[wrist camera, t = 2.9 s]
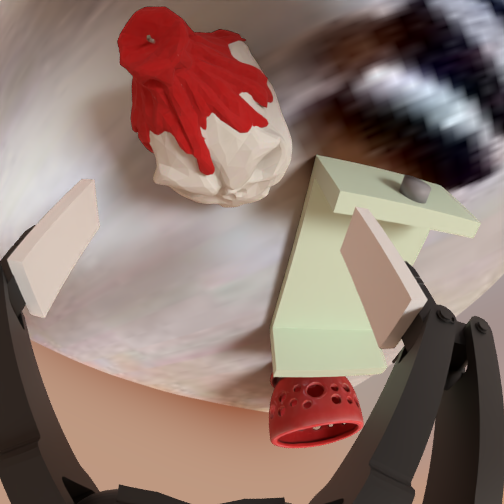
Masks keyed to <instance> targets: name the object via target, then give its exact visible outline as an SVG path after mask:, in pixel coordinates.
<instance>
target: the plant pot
mask: <svg viewBox="0 0 504 504" xmlns="http://www.w3.org/2000/svg"><path fill="white" fill-rule="evenodd" d="M270 382H271V385H272V386H273V388H275V389H274V391H273V394H272V397H271V402H270V409H269V431H270V440H271V442H272V444H274V445H276V446H279V447H284V448H306V447H314V446H320V445H324V444H329V443H333V442H336V441H339V440H342V439H344V438H347V437H349V436H351V435H353V434H355V433H357V432H358V431H359V430H361V429H362V427H363V425H364V423H363V417H362V412H361V408H360V405H359V402H358V399H357V396H356V393H355V391H354V389H353V387H352V385H351V383H350V382H349V381H348V379H347V378H346V377H345V376H338V377H273V373H272V374H271V378H270ZM343 423H346V424H343ZM329 424H333V426H332V427H329ZM316 426H321V427H320V429H318V430H315V429H313V427H316Z"/></svg>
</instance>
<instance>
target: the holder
mask: <svg viewBox="0 0 504 504" xmlns="http://www.w3.org/2000/svg"><path fill="white" fill-rule="evenodd" d="M355 207H360V208H366V209H369V210H370V212H371V213H372V215H373V216H374V217H375V219H376V220H377V222H378V223H379V224H380V226H381V227H382V229H383V230H384V232H385V233H386V235H387V236H388V238H389V239H390V240H391V242H392V243H393V245H394V246H395V248H396V249H397V251H398V253H399V254H400V256H401V257H402V259H403V260H404V261H407V262H408V263H409V264H410V265H411V266H412V265H413V263H414V262H415V260H416V258H417V256H418V254H419V252H420V250H421V248H422V246H423V244H424V242H425V240H426V237H427V235H428V233H429V231H430V229H431V230H436V231H441V232H446V233H450V234H455V235H460V236H464V237H469V238H474V236H475V234H476V232H477V230H478V228H479V226H480V224H481V223H480V222H479V221H478V220H477V219H476V218H475V217H474V216H473V215H472V214H471V213H470V212H469V211H468V210H467V209H466V208H465V207H464V206H463V205H462V204H461V203H460V202H458V201H457V200H456V199H455V198H454V197H453V196H452V195H451V194H450V193H449V192H447V191H446V190H445V189H444V188H443V187H442V186H440V185H437V184H433V183H430V182H427V181H423V180H420V179H418V178H415V177H412V176H409V175H402V174H398V173H395V172H391V171H387V170H383V169H379V168H375V167H371V166H366V165H362V164H358V163H353V162H349V161H344V160H339V159H334V158H329V157H324V156H319V155H316V158H315V162H314V166H313V170H312V174H311V178H310V182H309V186H308V190H307V194H306V198H305V202H304V206H303V210H302V214H301V217H300V221H299V225H298V229H297V233H296V236H295V240H294V244H293V247H292V251H291V255H290V258H289V262H288V266H287V269H286V273H285V276H284V280H283V283H282V287H281V290H280V294H279V297H278V301H277V304H276V308H275V311H274V314H273V318H272V321H271V325H270V340H271V353H272V365H273V377H338V376H358V375H373V374H382V373H383V372H384V370H385V369H386V368H387V364H386V361H385V358H384V355H383V352H382V349H379V347H378V344H377V341H376V338H375V336H374V333H373V330H372V328H371V325H370V322H369V320H368V317H367V315H366V312H365V309H364V307H363V304H362V302H361V299H360V297H359V294H358V292H357V289H356V287H355V285H354V282H353V280H352V277H351V275H350V273H349V270H348V268H347V266H346V263H345V261H344V259H343V256H342V254H341V252H340V249H341V247H342V244H343V241H344V238H345V235H346V233H347V230H348V227H349V224H350V221H351V218H352V215H353V212H354V209H355Z"/></svg>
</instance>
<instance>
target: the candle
mask: <svg viewBox="0 0 504 504" xmlns="http://www.w3.org/2000/svg"><path fill="white" fill-rule="evenodd" d="M243 41H246V39H243V38H241V36H240V35H239V34H237V33H234V32H231V31H228V30H222V29H219V30H216V31H214V32H212V33H202V32H193V31H192V30H191V28H190V27H189V26H188V25H187V24H186V22H185V21H184V20H183V19H182V18H181V17H179V16H178V15H177V14H175V13H174V12H172V11H171V10H170V9H168V8H167V7H144V8H142V9H140V10H138V11H137V12H135V13H134V14H133V15H132V17H131V18H130V19H129V21H128V22H127V23H126V25H125V27H124V28H123V30H122V31H121V33H120V36H119V38H118V42H117V43H118V47H119V52H120V65H121V66H123V67H124V68H126V69H127V70H128V72H129V73H130V74H131V75H132V76H133V79H132V110H131V124H132V129H133V131H134V132H138V137H139V139H140V141H141V142H142V144H143V145H144V146H145V147H146V148H147V149H148V150H149V151H150V152H152V153H154V155H155V157H156V166H157V167H156V170H155V173H154V176H153V180H154V182H155V183H156V184H160V185H167V186H169V187H170V188H172V189H173V190H174V191H175V192H177V193H179V194H180V195H182V196H184V197H186V198H188V199H190V200H193V201H195V202H197V203H203V204H214V203H216V204H219V205H221V206H222V207H238V206H240V205H242V204H247V203H253V202H256V201H258V200H260V199H262V198H264V197H266V196H267V194H268V193H269V189H270V187H271V186H273V185H275V184H277V183H278V182H279V181H280V180H281V179H282V177H283V176H284V174H285V172H286V170H287V168H288V166H289V164H290V162H291V155H292V140H291V137H290V133H289V130H288V127H287V124H286V122H285V120H284V117H283V115H282V112H281V109H280V106H279V103H278V100H277V96H276V94H275V91H274V89H273V86H272V84H271V83H270V82H269V81H268V78H267V77H266V76H265V75H264V73H263V71H262V70H261V68H260V67H259V65H258V64H257V62H256V60H255V59H254V57H253V56H252V54H251V53H250V50H249V48H248V46H247V45H246V44H245V43H244V42H243Z"/></svg>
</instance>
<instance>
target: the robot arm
mask: <svg viewBox="0 0 504 504" xmlns="http://www.w3.org/2000/svg"><path fill="white" fill-rule="evenodd" d="M99 227H100V224H99V217H98V209H97V200H96V191H95V180H92V179H81V180H80V181H79V182H78V183H77V184H76V185H75V186H74V187H73V188H72V189H71V190H70V191H69V192H68V193H67V194H66V195H65V196H64V197H63V198H62V199H61V200H60V201H59V202H58V203H57V204H56V205H55V206H54V207H53V208H52V209H51V210H50V211H49V212H48V213H47V214H46V215H45V216H44V217H43V218H42V219H41V220H40V221H39V222H38V224H37V225H34V226H32V227H31V228H29V229H28V230H26V231H25V232H24V233H23V235H22V236H21V237H20V238H19V240H17V241H16V243H15V244H14V246H12V247H11V248H10V250H9V251H8V252H7V253H6V255H5V256H4V257H3V258H2V260H1V261H0V479H1V481H2V484H3V486H4V489H5V491H6V493H7V495H8V498H9V500H10V502H11V504H190V503H187V502H184V501H181V500H178V499H175V498H172V497H169V496H167V495H164V494H161V493H159V492H154V491H148V490H143V489H138V488H133V487H128V486H123V485H119V488H118V489H114V490H106V491H102V492H99V490H98V488H97V487H96V485H95V484H94V483H93V481H92V479H91V478H90V477H89V475H88V474H87V473H86V472H85V471H84V470H83V468H82V467H81V466H80V464H79V462H78V461H77V459H76V457H75V455H74V453H73V451H72V449H71V448H70V445H69V443H68V441H67V439H66V437H65V435H64V433H63V431H62V429H61V426H60V424H59V422H58V420H57V417H56V415H55V412H54V410H53V408H52V405H51V403H50V400H49V397H48V395H47V392H46V389H45V387H44V384H43V381H42V378H41V375H40V372H39V369H38V366H37V362H36V359H35V356H34V353H33V349H32V345H31V342H30V338H29V334H28V330H27V326H26V321H25V317H24V315H23V313H22V310H23V308H24V306H25V304H26V306H27V308H28V311H29V313H30V315H33V316H37V317H41V318H45V317H46V315H47V313H48V311H49V309H50V307H51V306H52V304H53V302H54V300H55V298H56V296H57V295H58V293H59V291H60V289H61V288H62V286H63V284H64V282H65V281H66V279H67V277H68V276H69V274H70V272H71V271H72V269H73V267H74V266H75V264H76V262H77V261H78V259H79V258H80V256H81V254H82V253H83V251H84V250H85V248H86V247H87V245H88V244H89V242H90V241H91V239H92V238H93V236H94V235H95V233H96V232H97V230H98V229H99ZM340 252H341V254H342V256H343V259H344V261H345V263H346V266H347V268H348V270H349V273H350V275H351V277H352V280H353V282H354V285H355V287H356V289H357V292H358V294H359V297H360V299H361V302H362V304H363V307H364V309H365V312H366V315H367V317H368V320H369V322H370V325H371V328H372V330H373V333H374V336H375V338H376V341H377V344H378V347H379V349H388V348H395V347H396V345H397V344H398V343H399V341H400V340H401V339H402V340H403V343H404V345H405V346H404V347H403V348H402V350H401V351H400V352H399V354H398V355H397V356H396V357H395V359H394V360H393V361H392V362H393V363H395V362H396V363H395V365H394V367H393V370H392V372H391V374H390V376H389V378H388V380H387V383H386V385H385V387H384V389H383V391H382V393H381V395H380V397H379V399H378V401H377V403H376V405H375V407H374V409H373V411H372V413H371V415H370V416H369V418H368V420H367V422H366V424H365V425H364V427H363V429H362V431H361V432H360V434H359V436H358V438H357V439H356V441H355V443H354V444H353V446H352V448H351V450H350V451H349V453H348V454H347V456H346V457H345V459H344V461H343V462H342V464H341V465H340V467H339V468H338V470H337V471H336V473H335V474H334V476H333V477H332V478H331V480H330V481H329V483H328V484H327V485H326V486H325V487H324V488H323V489H322V490H321V491H320V492H319V493H318V494H317V495H316V496H315V497H314V498H313V499H312V500H311V501H310V503H309V504H412V502H413V499H414V496H415V490H414V489H413V488H412V487H411V481H412V478H413V476H414V474H415V472H416V469H417V467H418V465H419V462H420V460H421V457H422V455H423V452H424V450H425V447H426V444H427V442H428V439H429V436H430V433H431V430H432V427H433V424H434V421H435V431H434V440H433V448H432V455H431V462H430V469H429V474H428V480H427V485H426V490H425V495H424V499H423V503H422V504H502V497H503V488H504V406H503V395H502V386H501V379H500V372H499V366H498V360H497V354H496V349H495V344H494V339H493V335H492V331H491V328H490V327H489V325H488V323H487V322H486V321H485V320H483V319H482V318H480V317H477V316H474V317H472V318H471V319H470V321H469V322H468V323H467V324H464V323H461V322H458V321H457V320H456V318H455V316H454V314H453V313H452V312H451V311H450V310H449V309H447V308H446V307H444V306H442V305H436V303H435V301H434V299H433V298H432V296H431V294H430V293H429V291H428V289H427V288H426V286H425V285H424V283H423V281H422V280H421V278H420V276H419V275H418V273H417V272H416V270H415V269H414V268H413V267H412V266H411V265H410V264H409V263H408V262H407V261H404V260H403V259H402V257H401V256H400V254H399V253H398V251H397V249H396V248H395V246H394V245H393V243H392V242H391V240H390V239H389V238H388V236H387V235H386V233H385V232H384V230H383V229H382V227H381V226H380V224H379V223H378V222H377V220H376V219H375V217H374V216H373V215H372V213H371V212H370V210H369V209H366V208H360V207H355V209H354V212H353V215H352V218H351V221H350V224H349V227H348V230H347V233H346V235H345V238H344V241H343V244H342V247H341V249H340ZM466 365H468V366H467V370H466V372H465V367H466ZM435 418H436V419H435ZM222 504H291V503H286V502H285V499H284V498H267V499H242V500H237V501H232V502H227V503H222Z"/></svg>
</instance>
